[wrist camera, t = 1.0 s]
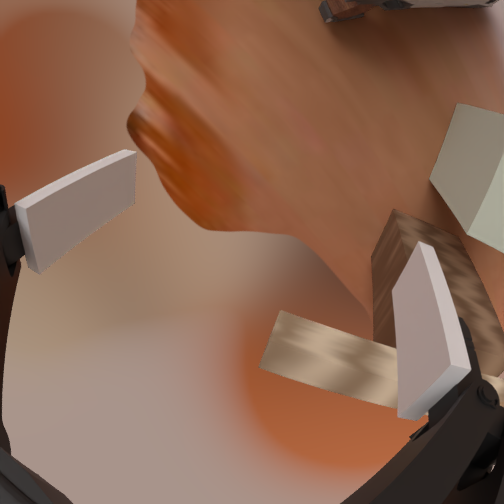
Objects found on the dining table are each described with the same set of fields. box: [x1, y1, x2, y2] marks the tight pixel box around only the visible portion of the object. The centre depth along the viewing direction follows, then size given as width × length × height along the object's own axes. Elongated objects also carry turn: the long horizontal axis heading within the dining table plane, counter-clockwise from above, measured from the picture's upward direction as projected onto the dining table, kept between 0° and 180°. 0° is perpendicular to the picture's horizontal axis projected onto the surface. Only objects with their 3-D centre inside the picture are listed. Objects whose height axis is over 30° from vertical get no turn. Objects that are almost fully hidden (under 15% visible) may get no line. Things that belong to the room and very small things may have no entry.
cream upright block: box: [429, 103, 504, 253], centre depth 31 cm, size 9×14×20 cm, turn 166°
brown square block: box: [259, 310, 504, 415], centre depth 25 cm, size 30×5×5 cm, turn 76°
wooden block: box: [371, 209, 504, 377], centre depth 39 cm, size 14×10×29 cm
